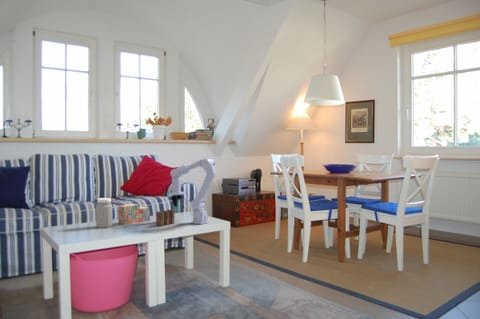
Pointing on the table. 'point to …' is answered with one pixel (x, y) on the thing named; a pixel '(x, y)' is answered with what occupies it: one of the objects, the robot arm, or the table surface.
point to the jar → (104, 213)
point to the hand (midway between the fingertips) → (176, 206)
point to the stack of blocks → (133, 214)
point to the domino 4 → (177, 207)
